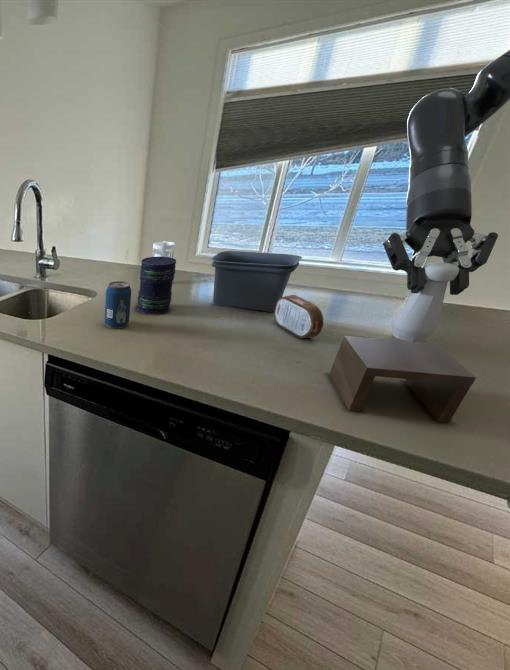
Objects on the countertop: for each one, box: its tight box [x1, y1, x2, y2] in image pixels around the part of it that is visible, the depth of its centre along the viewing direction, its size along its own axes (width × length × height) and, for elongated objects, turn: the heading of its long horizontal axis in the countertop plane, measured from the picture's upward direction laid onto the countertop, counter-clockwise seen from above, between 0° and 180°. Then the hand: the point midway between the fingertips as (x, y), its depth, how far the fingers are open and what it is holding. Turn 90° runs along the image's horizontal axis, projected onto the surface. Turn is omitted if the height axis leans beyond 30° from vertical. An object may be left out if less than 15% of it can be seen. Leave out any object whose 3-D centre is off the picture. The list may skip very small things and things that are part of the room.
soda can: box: [103, 281, 132, 329], centre depth 114 cm, size 7×7×12 cm
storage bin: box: [211, 250, 302, 313], centre depth 120 cm, size 21×16×14 cm
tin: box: [273, 294, 324, 339], centre depth 102 cm, size 15×3×8 cm, turn 1°
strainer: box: [151, 240, 176, 258], centre depth 144 cm, size 7×7×15 cm
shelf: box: [329, 335, 477, 423], centre depth 75 cm, size 14×14×9 cm
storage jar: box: [136, 256, 177, 315], centre depth 122 cm, size 10×10×15 cm
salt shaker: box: [390, 261, 459, 342], centre depth 68 cm, size 6×6×13 cm
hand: (437, 291), depth 66 cm, fingers closed on salt shaker, 4 cm apart
